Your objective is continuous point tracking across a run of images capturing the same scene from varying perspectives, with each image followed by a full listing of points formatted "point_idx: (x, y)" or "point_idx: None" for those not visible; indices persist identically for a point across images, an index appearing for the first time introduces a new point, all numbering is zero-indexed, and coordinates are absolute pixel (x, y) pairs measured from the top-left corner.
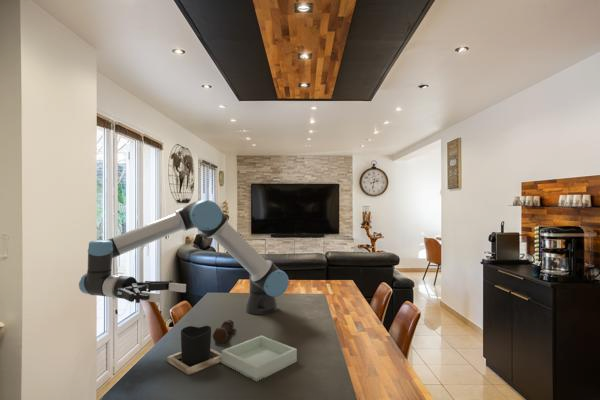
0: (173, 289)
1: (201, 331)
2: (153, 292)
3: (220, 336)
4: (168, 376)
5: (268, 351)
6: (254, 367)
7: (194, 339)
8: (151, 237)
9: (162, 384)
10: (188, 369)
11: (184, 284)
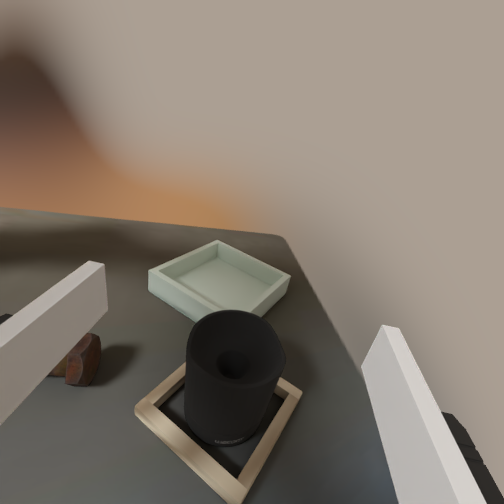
0: (31, 376)
1: (199, 349)
2: (402, 370)
3: (93, 358)
4: (322, 450)
5: (186, 278)
6: (287, 279)
7: (279, 346)
8: None
9: (360, 447)
10: (300, 392)
11: (92, 266)
